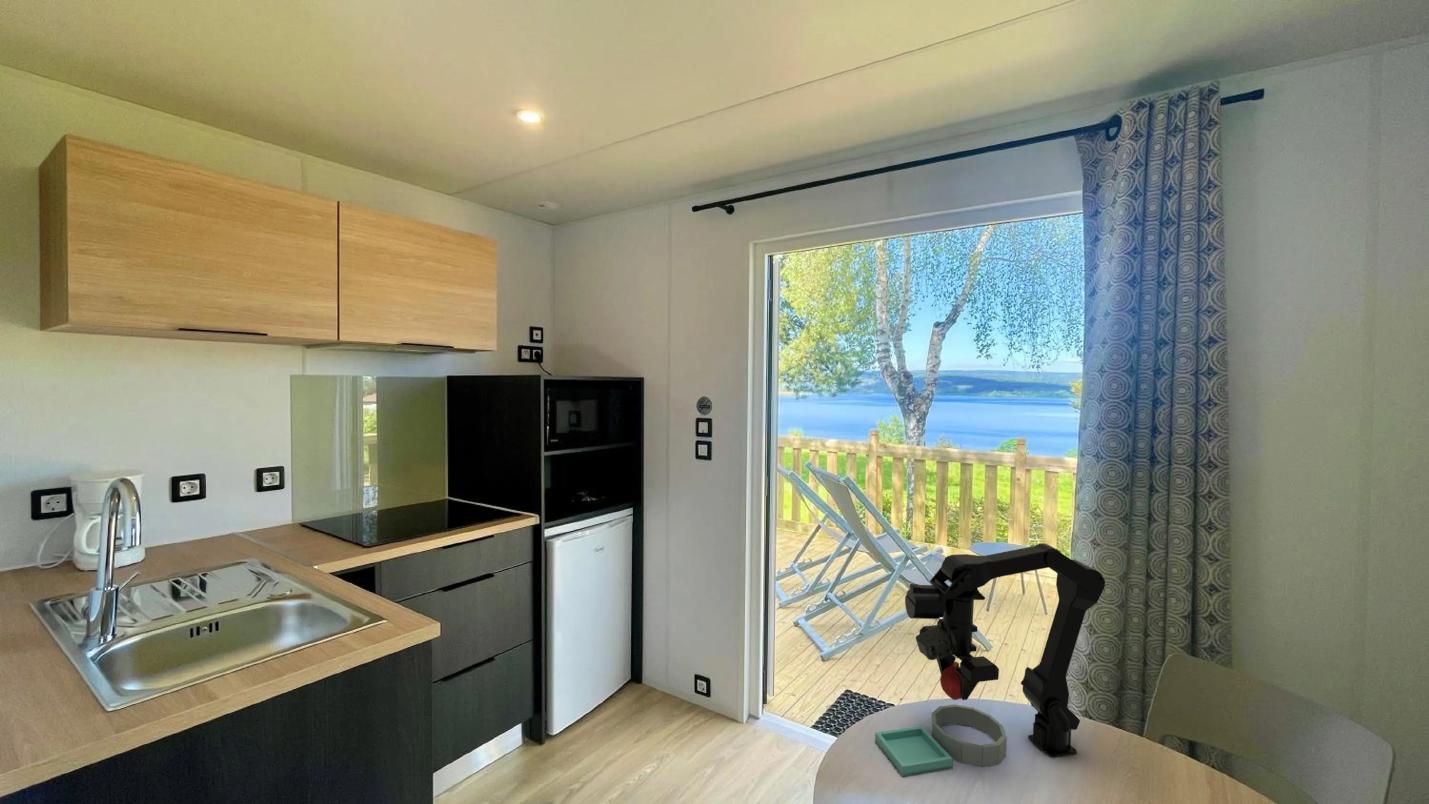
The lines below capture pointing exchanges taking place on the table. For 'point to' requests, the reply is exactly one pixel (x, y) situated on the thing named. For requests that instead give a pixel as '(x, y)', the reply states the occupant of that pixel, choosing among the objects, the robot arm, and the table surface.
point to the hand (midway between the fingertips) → (954, 691)
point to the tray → (913, 751)
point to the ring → (964, 750)
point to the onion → (951, 681)
